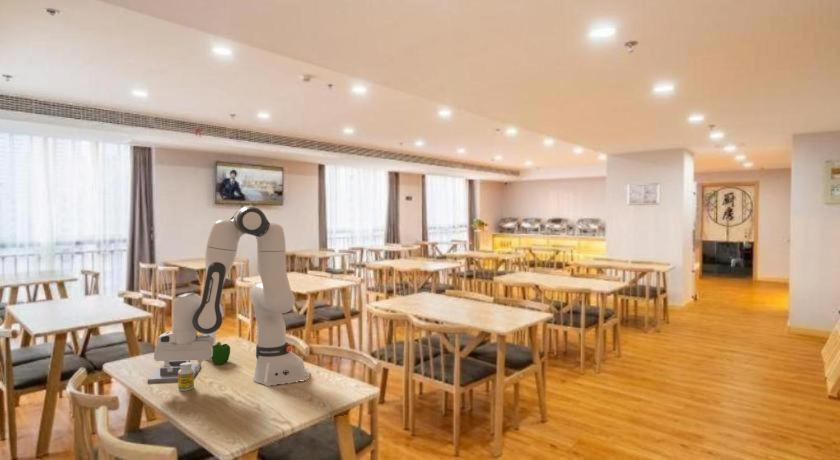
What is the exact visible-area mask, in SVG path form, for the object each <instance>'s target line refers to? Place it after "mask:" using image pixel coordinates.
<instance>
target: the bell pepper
mask: <svg viewBox="0 0 840 460" xmlns="http://www.w3.org/2000/svg"><path fill="white" fill-rule="evenodd" d="M212 348H213V356H212V357H211V358H210V359H211V361H212V363H213V364H214V365H219V366H220V365H223V364H225V363H227V362H228V361H229V359H230V355H231V347H230V345H229V344H228V343H224V344H222V343H221V341H218V342H217V341H216V345H215V346H212Z"/></svg>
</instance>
